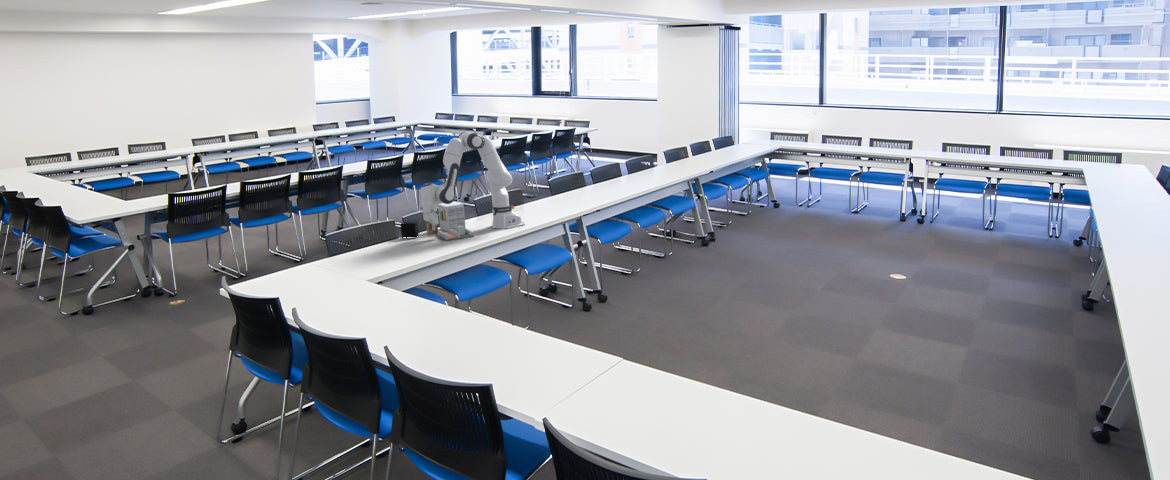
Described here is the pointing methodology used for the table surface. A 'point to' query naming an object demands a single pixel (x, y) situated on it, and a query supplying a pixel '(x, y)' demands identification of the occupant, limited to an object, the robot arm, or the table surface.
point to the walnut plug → (429, 229)
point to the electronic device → (409, 229)
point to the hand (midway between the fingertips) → (432, 229)
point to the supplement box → (451, 215)
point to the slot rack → (455, 234)
